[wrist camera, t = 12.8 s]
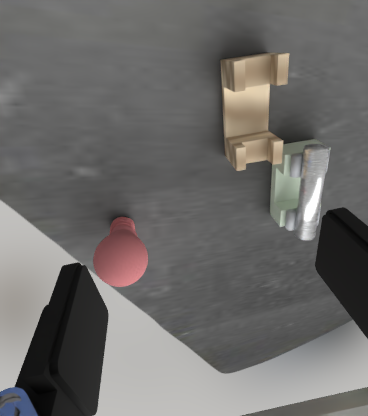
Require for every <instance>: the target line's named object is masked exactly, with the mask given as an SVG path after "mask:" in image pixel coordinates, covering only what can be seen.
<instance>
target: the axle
mask: <svg viewBox="0 0 368 416" xmlns="http://www.w3.org/2000/svg"><path fill="white" fill-rule="evenodd" d="M329 149H330V147H329V146H327V145H324V144H308V145H306V146H304V149H303V158H302V167H301V176H300V185H299V194H298V203H297V212H296V221H295V229H294V235H295V236H296V237H297V238H299V239H301V240H312V239H313V238H314V237H315V234H316V227H317V221H318V215H319V209H320V203H321V197H322V191H323V185H324V179H325V173H326V167H327V161H328V155H329Z"/></svg>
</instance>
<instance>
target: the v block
mask: <svg viewBox="0 0 368 416" xmlns="http://www.w3.org/2000/svg"><path fill="white" fill-rule="evenodd" d="M308 144H323V143H321V142H319V141H318V140H316V139H312V140H306V141H300V142H294V143H288V144H283V152H282V163H280V164H274V165H273V164H272V179H271V200H270V214H271V216H272V217H273V218H274V220H275V221H276V222H277V223H278V225H279V226H280V227H281V226H285V228H286V229H287V230H294V229H295V221H296V212H297V203H298V194H299V185H300V176H301V167H302V158H303V149H304V146H306V145H308ZM324 145H325V144H324ZM329 155H330V149H329ZM329 155H328V161H329ZM328 161H327V167H328ZM327 167H326V172H327ZM320 210H321V203H320V209H319V215H318V221H317V225H318V222H319V216H320Z"/></svg>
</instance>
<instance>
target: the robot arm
mask: <svg viewBox="0 0 368 416" xmlns="http://www.w3.org/2000/svg"><path fill="white" fill-rule="evenodd" d="M315 266H316V270H317V272H318V274H319V275H320V276H321V278H322V279H323V280H324V282H325V283H326V284H327V286H328V287H329V288H330V289H331V291H332V292H333V293H334V295H335V296H336V297H337V299H338V300H339V301H340V303H341V304H342V305H343V307H344V308H345V309H346V311H347V312H348V313H349V315H350V316H351V317H352V319H353V320H354V321H355V322H356V324H357V325H358V326H359V328H360V329H361V331H362V332H363V333H364V335H365V336H366V337H367V338H368V226H367V225H366V224H364V223H363V222H362V221H361V220H360V219H358V218H357V217H356V216H355V215H354V214H352V213H351V212H350V211H349V210H347V209H346V208H343V207H342V208H338V209H333V210H329V211H327V212H326V215H324V216H323V218H322V224H321V230H320V237H319V243H318V250H317V256H316V262H315ZM107 325H108V310H107V307H106V305H105V303H104V301H103V299H102V297H101V295H100V293H99V291H98V289H97V287H96V285H95V283H94V281H93V279H92V277H91V275H90V273H89V271H88V269H87V267H86V266H85V265H81V264H80V263H74V264H68V265H64V266H62V268H61V271H60V274H59V276H58V279H57V282H56V285H55V288H54V291H53V293H52V296H51V299H50V302H49V305H47V306H45V307H44V309H43V311H42V314H41V317H40V319H39V322H38V325H37V328H36V330H35V333H34V336H33V338H32V341H31V344H30V347H29V349H28V352H27V355H26V357H25V360H24V363H23V365H22V368H21V371H20V374H19V376H18V379H17V382H16V385H15V387H13V388H8V389H5V390H3V391H1V392H0V416H93V415H95V414H96V412H97V407H98V399H99V390H100V382H101V374H102V366H103V358H104V357H103V356H104V349H105V341H106V333H107ZM242 416H368V387H367V388H362V389H357V390H353V391H348V392H344V393H339V394H335V395H331V396H326V397H321V398H317V399H312V400H308V401H304V402H300V403H295V404H290V405H286V406H282V407H277V408H273V409H268V410H264V411H260V412H255V413H251V414H246V415H242Z"/></svg>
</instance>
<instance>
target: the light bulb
mask: <svg viewBox="0 0 368 416" xmlns="http://www.w3.org/2000/svg"><path fill="white" fill-rule="evenodd" d="M134 226H135V225H134V222H133V221H132V220H131V219H130V218H127V217H119V218H117V219H115V220H114V221H113V222H112V224H111V226H110V235H108V236H107V237H106V238H105V239H103V240H102V241H101V242H100V244H99V245H98V246H97V248H96V251H95V253H94V259H93V262H94V268H95V271H96V273H97V275H98V276H99V277H100V279H101V280H102V281H104V282H105V283H107V284H109V285H112V286H117V287H122V286H127V285H130V284H132V283H134V282H136V281H137V280H138V279H139V278H140V277H141V276H142V275H143V273H144V271H145V270H146V267H147V263H148V254H147V250H146V248H145V246H144V244H143V243H142V241H141V240H140V239H139V238H138V237H137V234H136V232H135V227H134Z"/></svg>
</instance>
